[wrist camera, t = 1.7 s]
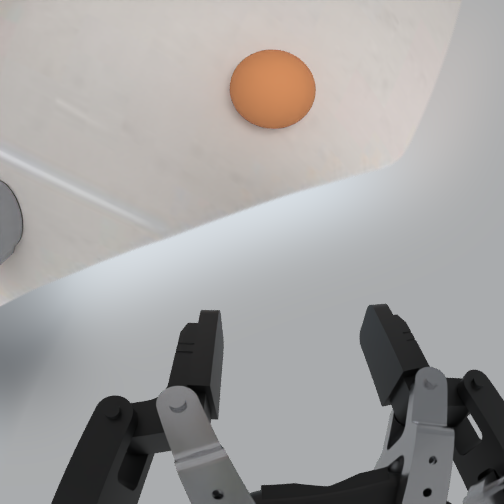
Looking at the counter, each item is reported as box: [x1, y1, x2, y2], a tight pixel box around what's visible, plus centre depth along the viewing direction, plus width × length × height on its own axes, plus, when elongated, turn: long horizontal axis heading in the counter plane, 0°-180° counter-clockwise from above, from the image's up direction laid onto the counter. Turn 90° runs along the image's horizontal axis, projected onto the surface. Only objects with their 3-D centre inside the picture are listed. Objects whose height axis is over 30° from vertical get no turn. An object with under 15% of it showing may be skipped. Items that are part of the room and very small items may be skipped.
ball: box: [230, 50, 316, 129], centre depth 18 cm, size 6×6×6 cm
